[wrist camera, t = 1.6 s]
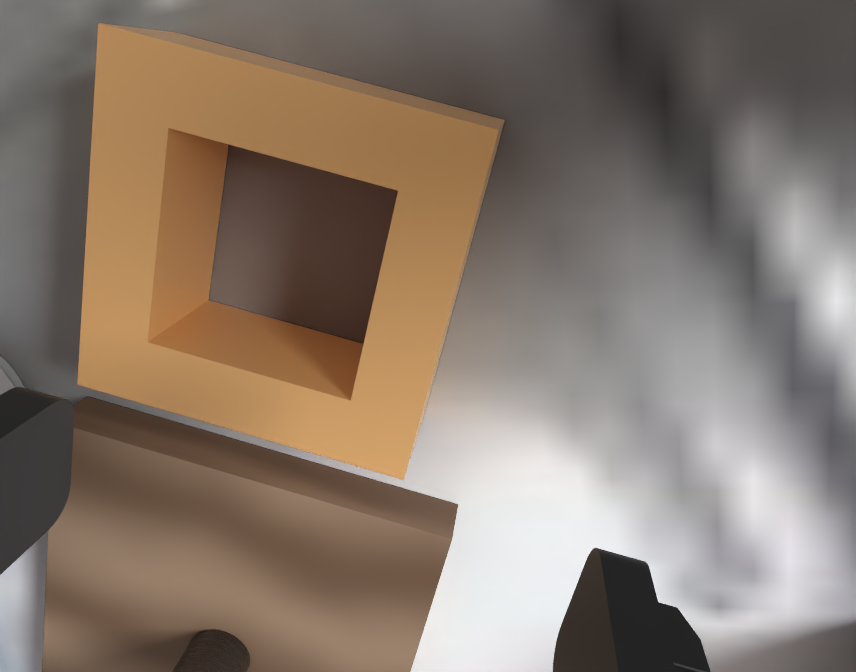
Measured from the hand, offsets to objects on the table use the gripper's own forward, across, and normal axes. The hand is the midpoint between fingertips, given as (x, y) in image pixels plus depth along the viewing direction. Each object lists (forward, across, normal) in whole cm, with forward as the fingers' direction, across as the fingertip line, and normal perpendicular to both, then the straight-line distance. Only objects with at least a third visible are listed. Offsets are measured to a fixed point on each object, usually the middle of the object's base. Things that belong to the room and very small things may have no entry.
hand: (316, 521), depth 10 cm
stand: (+13, +4, +15) cm, 20 cm away
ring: (+13, +4, -1) cm, 13 cm away
